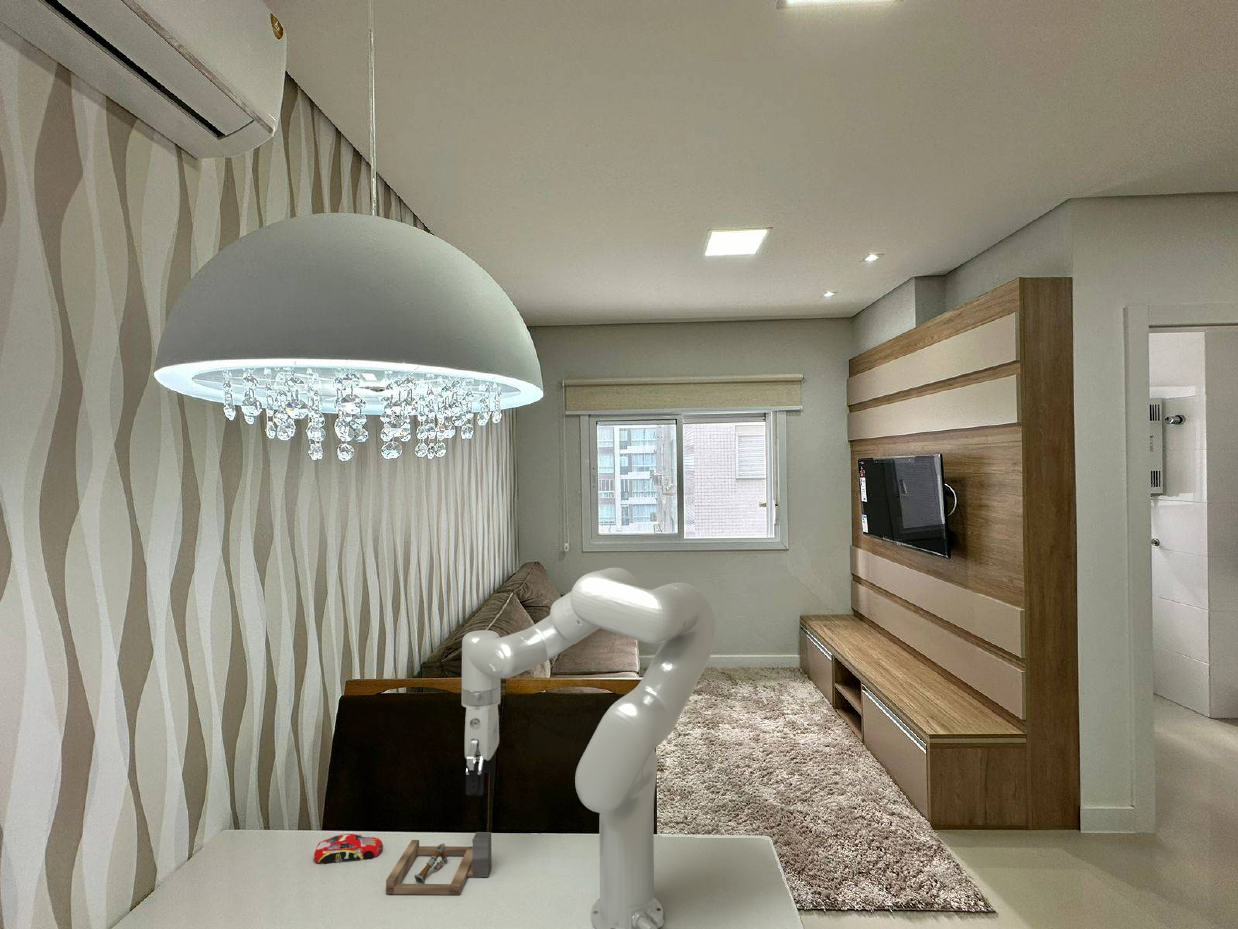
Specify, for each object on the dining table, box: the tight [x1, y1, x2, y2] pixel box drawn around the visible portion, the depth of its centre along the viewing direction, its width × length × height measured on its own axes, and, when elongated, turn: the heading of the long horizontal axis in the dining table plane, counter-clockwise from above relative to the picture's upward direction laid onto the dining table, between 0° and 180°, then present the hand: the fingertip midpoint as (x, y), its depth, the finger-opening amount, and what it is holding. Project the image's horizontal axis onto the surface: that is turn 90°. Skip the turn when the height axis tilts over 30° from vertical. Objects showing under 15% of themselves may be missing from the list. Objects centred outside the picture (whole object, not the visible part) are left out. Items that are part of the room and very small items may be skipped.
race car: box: [313, 833, 384, 865], centre depth 139 cm, size 13×5×4 cm, turn 99°
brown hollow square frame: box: [385, 831, 492, 896], centre depth 132 cm, size 14×18×7 cm
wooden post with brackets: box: [413, 842, 448, 884], centre depth 133 cm, size 2×8×4 cm, turn 154°
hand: (480, 783), depth 133 cm, fingers open, 9 cm apart
